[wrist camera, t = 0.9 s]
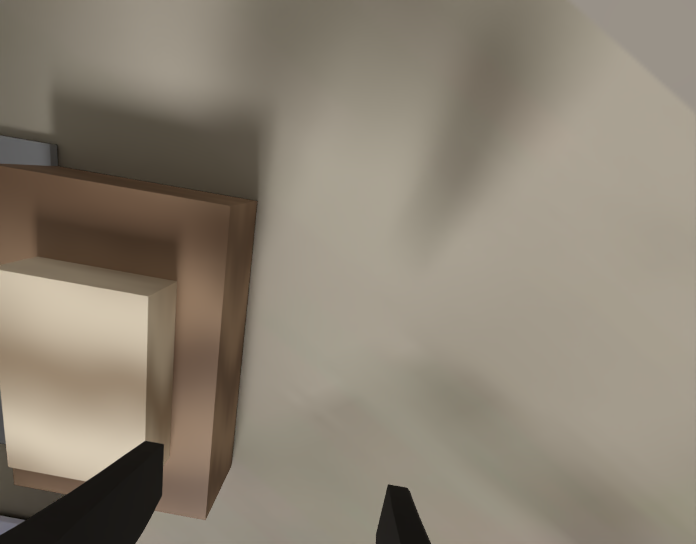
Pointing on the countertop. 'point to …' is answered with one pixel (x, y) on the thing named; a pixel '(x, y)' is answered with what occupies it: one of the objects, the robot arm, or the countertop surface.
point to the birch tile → (83, 365)
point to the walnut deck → (160, 262)
